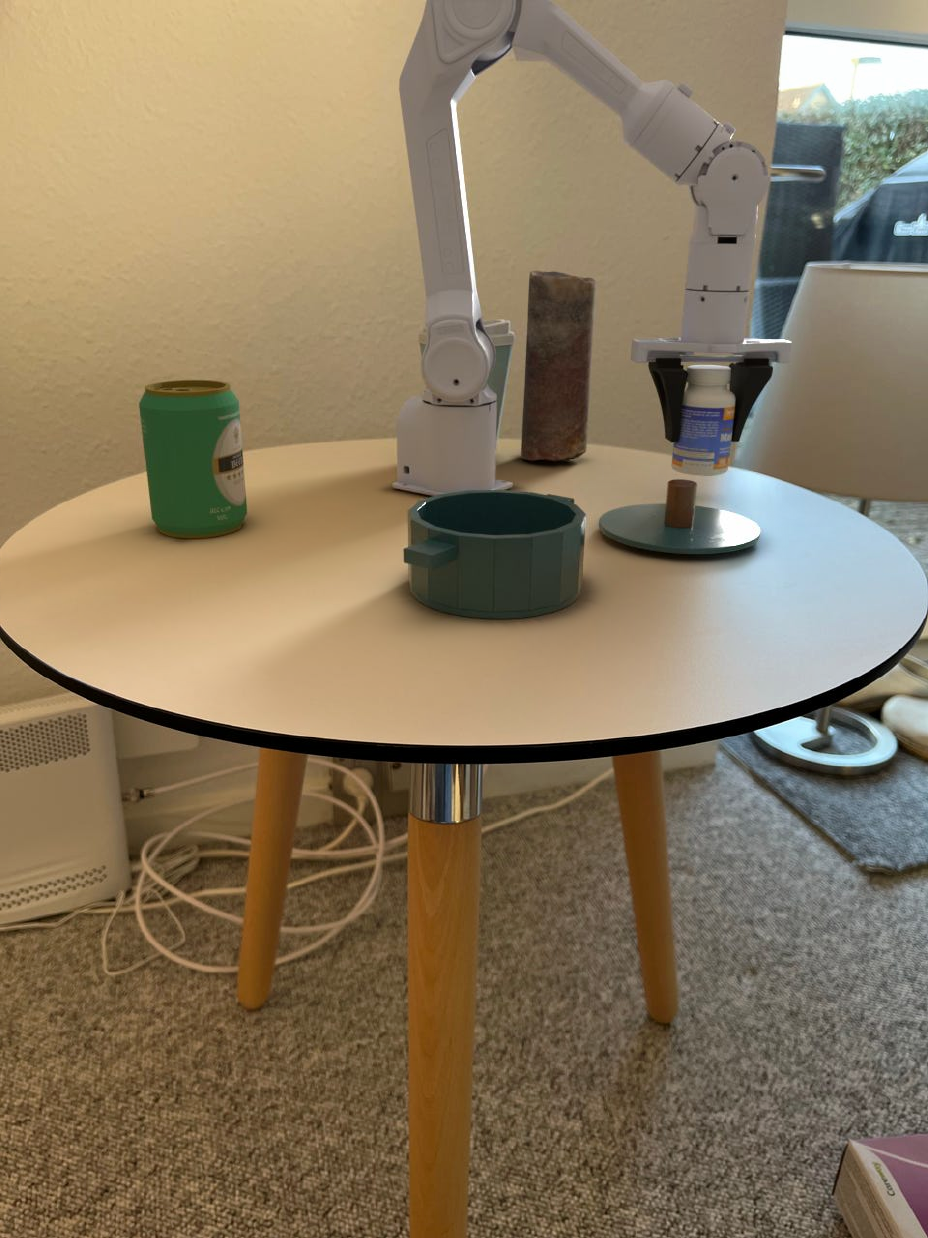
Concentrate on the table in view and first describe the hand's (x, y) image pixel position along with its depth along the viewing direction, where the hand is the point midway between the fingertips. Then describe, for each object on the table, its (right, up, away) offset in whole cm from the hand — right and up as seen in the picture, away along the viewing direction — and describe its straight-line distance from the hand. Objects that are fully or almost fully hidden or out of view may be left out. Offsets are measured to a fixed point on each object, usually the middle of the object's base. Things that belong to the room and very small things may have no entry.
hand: (701, 440), depth 94 cm
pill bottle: (0, -3, +1) cm, 3 cm away
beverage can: (-45, -9, -8) cm, 47 cm away
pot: (-20, -15, -22) cm, 33 cm away
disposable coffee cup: (-22, +1, +18) cm, 29 cm away
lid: (-4, -9, -10) cm, 15 cm away
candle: (-12, +1, +18) cm, 22 cm away
